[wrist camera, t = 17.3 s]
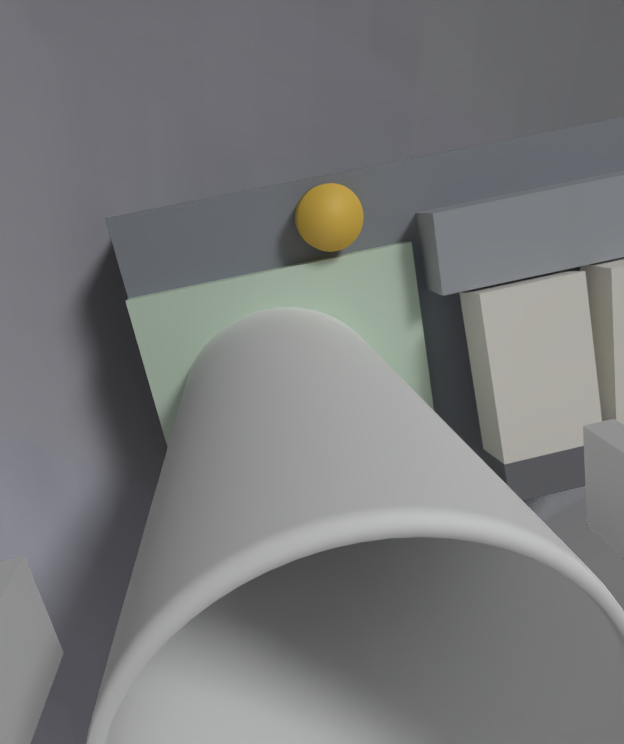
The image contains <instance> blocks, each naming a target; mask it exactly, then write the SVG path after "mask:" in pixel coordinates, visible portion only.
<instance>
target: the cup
mask: <svg viewBox="0 0 624 744" xmlns="http://www.w3.org/2000/svg"><path fill="white" fill-rule="evenodd" d="M86 744H624V611H623V609H622V608H621V607H620V605H619V604H618V603H617V601H616V600H615V599H614V597H613V596H612V595H611V593H610V592H609V591H608V589H607V588H606V587H605V585H604V584H603V583H602V582H601V581H600V580H599V579H598V578H597V577H596V576H595V574H594V573H593V572H592V571H591V570H590V569H589V568H588V567H587V566H586V565H585V564H584V563H583V562H582V561H581V560H580V559H579V558H578V557H577V556H576V555H575V554H574V553H573V552H572V551H571V550H570V549H569V548H568V547H567V546H566V545H565V544H564V542H563V541H562V540H561V539H559V537H558V536H557V535H556V534H555V533H554V532H553V531H552V530H551V529H550V528H549V527H548V526H547V525H546V524H545V523H544V522H543V521H542V520H541V519H540V518H539V517H538V516H537V515H536V514H535V513H534V512H533V511H532V510H531V509H530V508H529V507H528V506H527V505H526V504H525V503H524V502H523V501H522V500H521V499H520V498H519V497H518V496H517V495H516V493H515V492H514V491H513V490H512V489H511V488H510V487H509V486H508V485H507V484H506V483H505V482H504V481H503V480H502V479H501V478H500V477H499V476H498V475H497V474H496V473H495V472H494V471H493V470H492V469H491V468H490V467H489V466H488V465H487V464H486V463H485V462H484V461H483V460H482V459H481V458H480V457H479V456H478V455H477V454H476V453H475V452H474V451H473V450H472V449H471V448H470V447H469V446H468V445H467V444H466V443H465V442H464V441H463V440H462V439H461V438H460V437H459V436H458V435H457V434H456V433H455V432H454V431H453V430H452V429H451V428H450V427H449V426H448V425H447V424H446V423H445V422H444V421H443V420H442V419H441V418H440V416H439V415H438V414H437V413H436V412H435V411H434V410H433V409H432V408H431V407H430V406H429V405H428V404H427V403H426V402H425V401H424V400H423V399H422V398H421V397H420V396H419V395H418V394H417V393H416V392H415V391H414V390H413V389H412V388H411V387H410V386H409V385H408V384H407V383H406V382H405V381H404V380H403V379H402V378H401V377H400V376H399V375H398V374H397V373H396V372H395V371H394V370H393V369H392V368H391V367H390V366H389V365H388V364H387V363H386V362H385V361H384V360H383V359H382V358H381V357H380V356H379V355H378V354H377V353H376V352H375V351H374V350H373V349H372V348H371V347H370V346H369V345H368V344H367V343H366V342H365V341H364V340H363V339H362V338H361V336H360V335H359V334H357V333H356V332H355V331H354V330H353V329H352V328H350V327H349V326H347V325H346V324H345V323H343V322H341V321H340V320H338V319H336V318H334V317H332V316H330V315H327V314H325V313H322V312H319V311H316V310H311V309H307V308H299V307H277V308H270V309H264V310H260V311H257V312H253V313H251V314H248V315H246V316H243V317H241V318H239V319H237V320H236V321H234V322H232V323H231V324H229V325H227V326H226V327H224V328H223V329H222V330H221V331H219V332H218V333H217V334H216V335H215V336H214V337H213V338H212V339H211V340H210V341H209V342H208V343H207V344H206V345H205V347H204V348H203V349H202V351H201V352H200V353H199V355H198V356H197V358H196V360H195V362H194V364H193V365H192V368H191V370H190V372H189V375H188V378H187V381H186V385H185V388H184V392H183V395H182V399H181V402H180V406H179V409H178V413H177V416H176V420H175V423H174V427H173V431H172V434H171V438H170V441H169V445H168V448H167V452H166V455H165V459H164V462H163V466H162V469H161V473H160V476H159V480H158V483H157V487H156V490H155V494H154V497H153V501H152V505H151V508H150V512H149V515H148V519H147V522H146V526H145V529H144V533H143V536H142V540H141V543H140V547H139V550H138V554H137V557H136V561H135V564H134V568H133V571H132V575H131V579H130V582H129V586H128V589H127V593H126V596H125V600H124V603H123V607H122V610H121V614H120V617H119V621H118V625H117V628H116V632H115V635H114V639H113V642H112V646H111V650H110V653H109V657H108V660H107V664H106V667H105V671H104V675H103V678H102V682H101V685H100V689H99V692H98V696H97V700H96V703H95V707H94V710H93V714H92V718H91V721H90V725H89V728H88V735H87V741H86Z"/></svg>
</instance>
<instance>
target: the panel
mask: <svg viewBox="0 0 624 744" xmlns="http://www.w3.org/2000/svg"><path fill="white" fill-rule="evenodd" d="M105 219H106V223H107V226H108V230H109V233H110V237H111V240H112V244H113V247H114V251H115V254H116V258H117V261H118V265H119V268H120V272H121V275H122V279H123V282H124V286H125V289H126V293H127V296H128V299H127V300H126V301H125V302H126V305H127V309H128V312H129V316H130V319H131V323H132V326H133V330H134V333H135V336H136V340H137V343H138V347H139V350H140V354H141V357H142V361H143V364H144V368H145V371H146V375H147V378H148V382H149V385H150V389H151V392H152V396H153V399H154V403H155V406H156V409H157V413H158V416H159V420H160V423H161V427H162V430H163V434H164V437H165V441H166V444H167V448H168V445H169V441H170V438H171V434H172V431H173V427H174V423H175V420H176V416H177V413H178V409H179V406H180V402H181V399H182V395H183V392H184V388H185V385H186V381H187V378H188V375H189V372H190V370H191V368H192V365H193V364H194V362H195V360H196V358H197V356H198V355H199V353H200V352H201V351H202V349H203V348H204V347H205V345H206V344H207V343H208V342H209V341H210V340H211V339H212V338H213V337H214V336H215V335H216V334H217V333H218V332H219V331H221V330H222V329H223V328H224V327H226V326H227V325H229V324H231V323H232V322H234V321H236V320H237V319H239V318H241V317H243V316H246V315H248V314H251V313H253V312H257V311H260V310H264V309H270V308H277V307H299V308H307V309H311V310H316V311H319V312H322V313H325V314H327V315H330V316H332V317H334V318H336V319H338V320H340V321H341V322H343V323H345V324H346V325H347V326H349V327H350V328H352V329H353V330H354V331H355V332H356V333H357V334H359V335H360V336H361V338H362V339H363V340H364V341H365V342H366V343H367V344H368V345H369V346H370V347H371V348H372V349H373V350H374V351H375V352H376V353H377V354H378V355H379V356H380V357H381V358H382V359H383V360H384V361H385V362H386V363H387V364H388V365H389V366H390V367H391V368H392V369H393V370H394V371H395V372H396V373H397V374H398V375H399V376H400V377H401V378H402V379H403V380H404V381H405V382H406V383H407V384H408V385H409V386H410V387H411V388H412V389H413V390H414V391H415V392H416V393H417V394H418V395H419V396H420V397H421V398H422V399H423V400H424V401H425V402H426V403H427V404H428V405H429V406H430V407H431V408H432V409H433V410H434V411H435V412H436V413H437V414H438V415H439V416H440V418H441V419H442V420H443V421H444V422H445V423H446V424H447V425H448V426H449V427H450V428H451V429H452V430H453V431H454V432H455V433H456V434H457V435H458V436H459V437H460V438H461V439H462V440H463V441H464V442H465V443H466V444H467V445H468V446H469V447H470V448H471V449H472V450H473V451H474V452H475V453H476V454H477V455H478V456H479V457H480V458H481V459H482V460H483V461H484V454H483V443H482V437H481V430H480V424H479V417H478V411H477V404H476V398H475V391H474V385H473V378H472V372H471V365H470V359H469V352H468V346H467V339H466V333H465V326H464V320H463V313H462V307H461V300H460V294H459V292H463V291H468V290H472V289H477V288H482V287H486V286H491V285H496V284H500V283H505V282H510V281H514V280H519V279H524V278H528V277H533V276H538V275H542V274H547V273H552V272H556V271H585V273H586V282H587V291H588V300H589V309H590V318H591V327H592V336H593V344H594V353H595V362H596V371H597V380H598V389H599V398H600V407H601V416H602V421H605V420H610V419H615V420H616V421H618V422H620V423H622V424H623V425H624V117H621V118H616V119H611V120H606V121H601V122H595V123H590V124H585V125H580V126H575V127H570V128H565V129H560V130H555V131H549V132H544V133H539V134H534V135H529V136H524V137H519V138H514V139H509V140H503V141H498V142H493V143H488V144H483V145H478V146H473V147H468V148H463V149H457V150H452V151H447V152H442V153H437V154H432V155H427V156H422V157H417V158H411V159H406V160H401V161H396V162H391V163H386V164H381V165H376V166H371V167H365V168H360V169H355V170H350V171H345V172H340V173H335V174H330V175H325V176H319V177H314V178H309V179H304V180H299V181H294V182H289V183H284V184H279V185H273V186H268V187H263V188H258V189H253V190H248V191H243V192H238V193H233V194H227V195H222V196H217V197H212V198H207V199H202V200H197V201H192V202H187V203H181V204H176V205H171V206H166V207H161V208H156V209H151V210H146V211H141V212H135V213H130V214H125V215H120V216H115V217H110V218H105ZM484 462H485V461H484Z"/></svg>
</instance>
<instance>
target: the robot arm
mask: <svg viewBox="0 0 624 744" xmlns="http://www.w3.org/2000/svg"><path fill="white" fill-rule="evenodd" d="M583 438H584V464H585V490H586V515H587V525H588V526H589V527H590V528H591V529H592V530H593V531H594V532H595V533H597V534H598V535H599V536H600V537H601V538H602V539H603V540H604V541H605V542H606V543H607V544H608V545H609V546H611V548H612V549H614V550H615V551H616V552H617V553H618V554H619V555H620V556H621V557H622V558H623V559H624V425H623V424H622V423H620V422H618V421H616V420H615V419H610V420H605V421H601V422H597V423H593V424H588V425H584V426H583ZM63 654H64V652H63V650H62V647H61V645H60V642H59V640H58V637H57V635H56V632H55V630H54V628H53V625H52V623H51V620H50V618H49V615H48V613H47V610H46V608H45V605H44V603H43V601H42V598H41V596H40V593H39V591H38V588H37V586H36V583H35V581H34V578H33V576H32V574H31V571H30V569H29V566H28V564H27V561H26V559H25V556H23V557H19V558H14V559H10V560H6V561H1V562H0V744H31V742H32V739H33V736H34V733H35V731H36V728H37V725H38V722H39V720H40V717H41V714H42V712H43V709H44V706H45V703H46V701H47V698H48V695H49V692H50V690H51V687H52V684H53V682H54V679H55V676H56V673H57V671H58V668H59V665H60V662H61V660H62V657H63Z"/></svg>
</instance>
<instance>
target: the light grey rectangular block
mask: <svg viewBox="0 0 624 744" xmlns="http://www.w3.org/2000/svg"><path fill="white" fill-rule="evenodd" d="M459 294H460V300H461V307H462V313H463V320H464V326H465V333H466V339H467V346H468V352H469V359H470V365H471V372H472V378H473V385H474V391H475V398H476V404H477V411H478V417H479V424H480V430H481V437H482V443H483V454H484V461H485V463H486V464H487V465H488V466H489V467H490V468H491V469H492V470H493V471H494V472H495V473H496V474H497V475H498V476H499V477H500V478H501V479H502V480H503V481H504V482H505V483H506V484H507V485H508V486H509V487H510V488H511V489H512V490H513V491H514V492H515V493H516V495H517V496H518V497H519V498H520V499H521V500H522V501H524V500H529V499H533V498H537V497H541V496H545V495H549V494H553V493H557V492H562V491H566V490H570V489H574V488H578V487H582V486H585V464H584V438H583V426H584V425H588V424H593V423H597V422H601V421H602V416H601V407H600V398H599V389H598V380H597V371H596V362H595V353H594V344H593V336H592V327H591V318H590V309H589V300H588V291H587V282H586V273H585V271H556V272H552V273H547V274H542V275H538V276H533V277H528V278H524V279H519V280H514V281H510V282H505V283H500V284H496V285H491V286H486V287H482V288H477V289H472V290H468V291H463V292H459Z"/></svg>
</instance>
